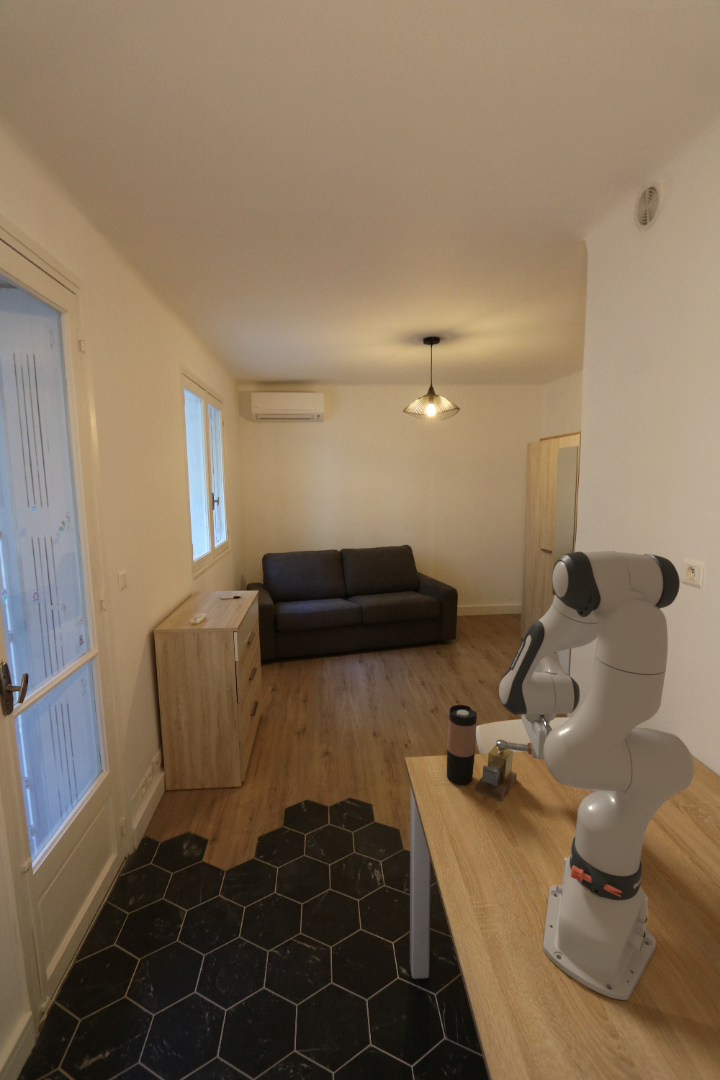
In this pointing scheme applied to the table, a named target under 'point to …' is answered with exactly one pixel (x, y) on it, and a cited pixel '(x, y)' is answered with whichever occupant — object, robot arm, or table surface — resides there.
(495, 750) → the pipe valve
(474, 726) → the travel mug
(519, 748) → the valve lever
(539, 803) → the table surface
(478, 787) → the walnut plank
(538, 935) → the table surface
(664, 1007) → the table surface
